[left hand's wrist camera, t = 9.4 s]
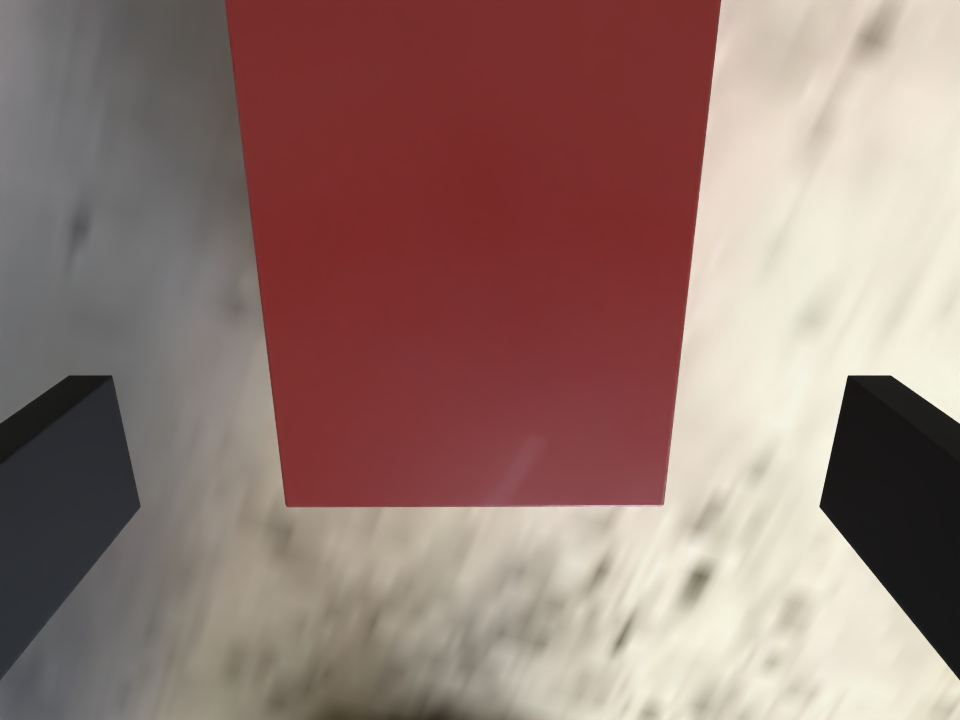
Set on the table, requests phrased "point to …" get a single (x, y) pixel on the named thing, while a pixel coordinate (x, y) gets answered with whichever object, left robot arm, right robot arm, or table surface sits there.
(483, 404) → the cabinet
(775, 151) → the table surface
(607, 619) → the table surface
